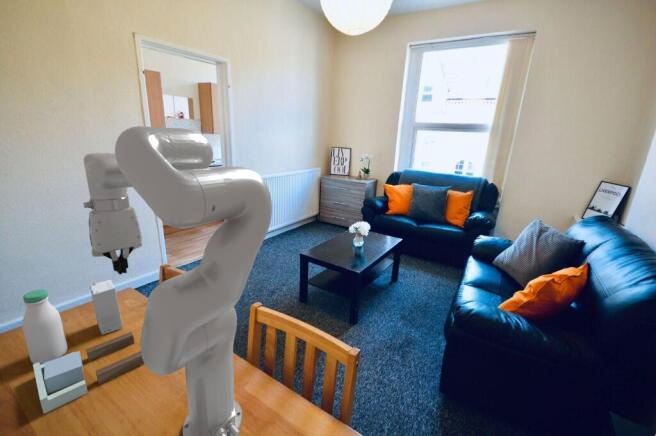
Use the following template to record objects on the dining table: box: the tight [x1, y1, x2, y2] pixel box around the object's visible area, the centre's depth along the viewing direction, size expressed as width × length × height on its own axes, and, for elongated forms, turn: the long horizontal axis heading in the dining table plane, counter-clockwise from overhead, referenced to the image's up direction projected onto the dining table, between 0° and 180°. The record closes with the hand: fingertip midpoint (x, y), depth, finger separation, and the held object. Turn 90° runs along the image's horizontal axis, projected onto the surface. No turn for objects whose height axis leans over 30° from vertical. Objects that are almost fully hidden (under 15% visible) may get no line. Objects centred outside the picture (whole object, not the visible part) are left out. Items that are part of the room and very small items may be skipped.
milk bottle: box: [21, 289, 68, 365], centre depth 81 cm, size 8×8×20 cm
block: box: [43, 350, 85, 395], centre depth 76 cm, size 7×7×4 cm
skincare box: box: [89, 279, 124, 336], centre depth 95 cm, size 8×6×15 cm
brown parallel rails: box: [85, 331, 145, 385], centre depth 83 cm, size 13×11×3 cm
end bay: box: [32, 351, 89, 415], centre depth 74 cm, size 15×8×4 cm, turn 48°
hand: (121, 271), depth 77 cm, fingers closed
